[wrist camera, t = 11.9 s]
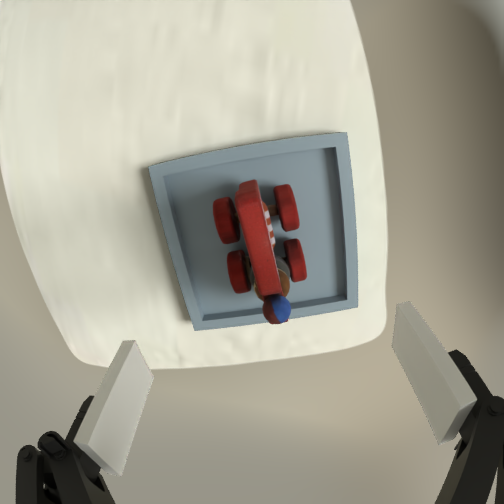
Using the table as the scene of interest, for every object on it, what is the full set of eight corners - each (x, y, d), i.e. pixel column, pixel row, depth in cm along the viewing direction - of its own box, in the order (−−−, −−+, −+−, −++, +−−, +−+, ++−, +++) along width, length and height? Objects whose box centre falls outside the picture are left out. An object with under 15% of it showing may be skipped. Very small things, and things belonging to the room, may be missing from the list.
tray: (155, 164, 27) (148, 166, 25) (340, 132, 26) (347, 132, 24) (197, 320, 34) (194, 330, 32) (353, 297, 32) (358, 307, 30)
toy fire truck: (241, 296, 31) (235, 364, 22) (211, 180, 27) (185, 207, 17) (306, 284, 31) (325, 349, 21) (285, 164, 26) (303, 183, 17)
